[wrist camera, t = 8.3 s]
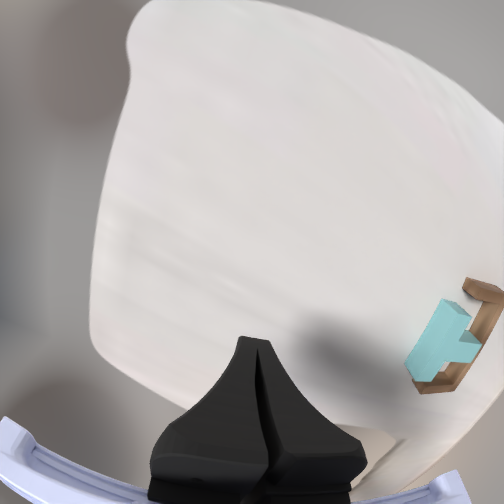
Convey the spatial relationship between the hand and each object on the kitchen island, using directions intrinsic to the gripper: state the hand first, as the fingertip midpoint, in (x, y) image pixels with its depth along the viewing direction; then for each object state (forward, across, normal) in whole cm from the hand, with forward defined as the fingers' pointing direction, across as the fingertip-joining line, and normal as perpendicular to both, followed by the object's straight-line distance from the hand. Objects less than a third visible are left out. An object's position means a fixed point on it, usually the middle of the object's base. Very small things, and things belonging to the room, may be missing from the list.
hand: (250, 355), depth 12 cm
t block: (+10, -22, +3) cm, 25 cm away
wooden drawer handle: (+10, -24, +3) cm, 26 cm away
